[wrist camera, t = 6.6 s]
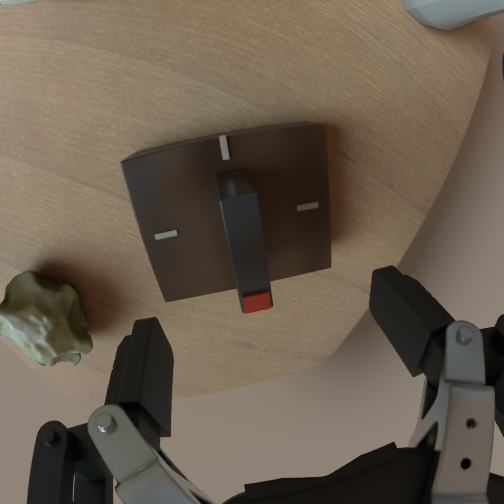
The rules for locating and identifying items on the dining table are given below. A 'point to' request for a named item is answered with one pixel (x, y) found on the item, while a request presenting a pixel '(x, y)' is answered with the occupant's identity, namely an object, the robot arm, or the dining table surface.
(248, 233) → the handle
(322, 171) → the handle panel
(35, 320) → the fruit
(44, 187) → the dining table surface
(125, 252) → the dining table surface
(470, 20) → the salt shaker
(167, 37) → the dining table surface
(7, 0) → the trinket box
